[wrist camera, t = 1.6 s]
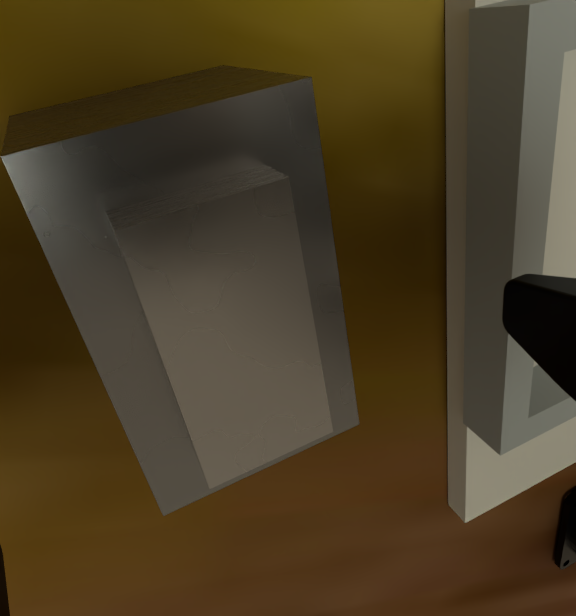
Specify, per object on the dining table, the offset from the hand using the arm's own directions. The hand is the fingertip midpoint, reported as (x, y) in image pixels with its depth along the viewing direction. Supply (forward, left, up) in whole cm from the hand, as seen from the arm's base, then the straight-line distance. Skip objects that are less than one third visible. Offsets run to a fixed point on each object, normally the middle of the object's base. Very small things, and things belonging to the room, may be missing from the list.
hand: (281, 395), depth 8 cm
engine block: (0, 0, -7) cm, 7 cm away
